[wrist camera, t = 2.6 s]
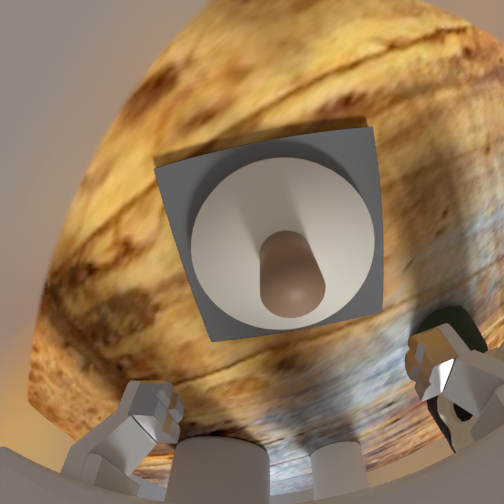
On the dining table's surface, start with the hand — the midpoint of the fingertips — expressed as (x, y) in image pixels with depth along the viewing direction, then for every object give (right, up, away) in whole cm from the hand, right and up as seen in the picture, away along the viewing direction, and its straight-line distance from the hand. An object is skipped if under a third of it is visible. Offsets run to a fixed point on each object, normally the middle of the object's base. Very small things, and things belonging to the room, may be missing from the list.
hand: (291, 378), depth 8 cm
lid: (+1, +4, +9) cm, 10 cm away
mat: (+1, +5, +9) cm, 10 cm away
